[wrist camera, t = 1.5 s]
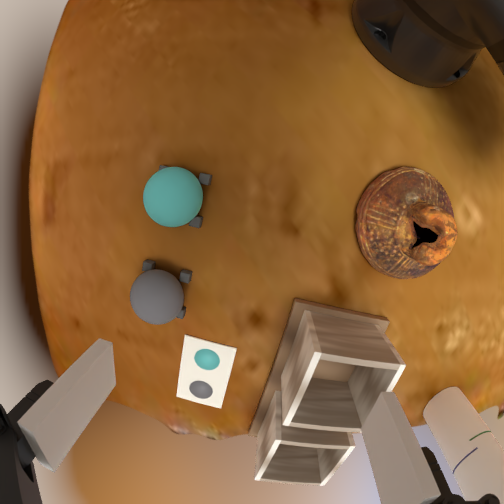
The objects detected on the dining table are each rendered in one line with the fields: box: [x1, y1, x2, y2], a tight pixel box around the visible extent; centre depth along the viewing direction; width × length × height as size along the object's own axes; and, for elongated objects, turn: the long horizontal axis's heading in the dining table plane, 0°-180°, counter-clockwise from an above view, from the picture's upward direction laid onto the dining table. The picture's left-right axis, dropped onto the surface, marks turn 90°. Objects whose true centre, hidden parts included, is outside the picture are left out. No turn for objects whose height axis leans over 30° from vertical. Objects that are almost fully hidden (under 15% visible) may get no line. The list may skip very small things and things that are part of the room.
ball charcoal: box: [130, 269, 184, 324], centre depth 28 cm, size 6×6×6 cm
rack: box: [248, 298, 406, 486], centre depth 28 cm, size 21×11×9 cm, turn 167°
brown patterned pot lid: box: [355, 167, 457, 279], centre depth 24 cm, size 12×12×7 cm
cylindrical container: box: [423, 387, 504, 504], centre depth 20 cm, size 7×7×25 cm
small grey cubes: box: [142, 165, 212, 319], centre depth 29 cm, size 15×5×1 cm, turn 167°
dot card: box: [177, 334, 237, 408], centre depth 33 cm, size 10×6×1 cm, turn 167°
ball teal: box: [143, 167, 203, 227], centre depth 25 cm, size 6×6×6 cm
